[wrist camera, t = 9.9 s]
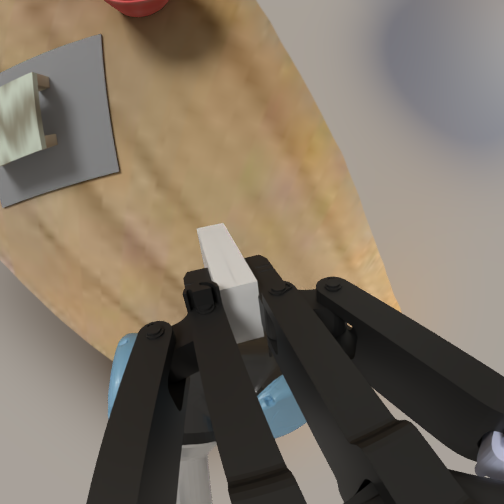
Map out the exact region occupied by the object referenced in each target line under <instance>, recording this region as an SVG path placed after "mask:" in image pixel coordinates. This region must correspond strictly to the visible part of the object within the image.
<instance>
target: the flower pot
mask: <svg viewBox="0 0 504 504" xmlns="http://www.w3.org/2000/svg"><path fill="white" fill-rule="evenodd" d="M104 1H106V2H107V3H108V4H110V5H111V6H112V7H114V8H115V9H117V10H118V11H120V12H121V13H123V14H125V15H127V16H131V17H144V16H148V15H151V14H153V13H155V12H157V11H159V10H160V9H161V8H163V7H164V6H165V5H166V3H167V2H168V1H169V0H104Z"/></svg>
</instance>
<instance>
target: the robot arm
mask: <svg viewBox="0 0 504 504" xmlns="http://www.w3.org/2000/svg"><path fill="white" fill-rule="evenodd" d="M197 233H198V238H199V243H200V248H201V253H202V258H203V262H204V267H205V268H203V269H199V270H195V271H190V272H187V273H186V275H185V277H184V285H185V289H184V291H183V297H184V301H185V304H186V308H187V311H188V314H187V316H186V317H185V318H184V319H183V320H182V321H180V322H179V323H177V324H175V325H173V326H171V325H170V324H169V323H167V322H165V321H156V322H151V323H149V324H147V325H145V326H144V327H143V328H141V329H140V331H139V332H138V333H129V334H127V335H125V336H124V337H122V339H121V340H120V341H119V343H118V346H117V349H116V352H115V356H114V360H113V365H112V370H111V377H110V385H109V394H108V404H109V405H108V419H109V420H108V423H107V427H106V430H105V433H104V437H103V440H102V444H101V448H100V451H99V455H98V459H97V462H96V467H95V470H94V474H93V478H92V482H91V487H90V490H89V495H88V499H87V504H212V496H211V486H210V476H209V466H208V453H209V452H210V451H211V450H212V449H213V448H214V447H215V446H216V445H217V446H218V450H219V453H220V457H221V461H222V464H223V468H224V471H225V475H226V478H227V482H228V492H229V496H230V500H231V503H232V504H307V503H306V501H305V499H304V497H303V495H302V492H301V490H300V488H299V486H298V484H297V482H296V480H295V478H294V476H293V475H292V472H291V471H290V470H289V469H288V468H287V466H286V465H285V462H284V460H283V458H282V455H281V453H280V451H279V449H278V446H277V444H276V442H275V439H274V438H278V437H281V436H284V435H286V434H288V433H290V432H292V431H294V430H296V429H298V428H299V427H301V426H302V425H303V424H305V423H306V422H307V423H308V425H309V427H310V429H311V431H312V433H313V435H314V437H315V439H316V441H317V443H318V445H319V447H320V448H321V451H322V452H323V454H324V456H325V458H326V460H327V462H328V464H329V466H330V468H331V470H332V471H333V473H334V475H335V477H336V480H337V483H338V488H339V492H340V494H341V497H342V499H343V501H344V504H504V377H503V376H502V375H500V374H499V373H497V372H495V371H494V370H493V369H491V368H489V367H488V366H486V365H485V364H483V363H482V362H480V361H478V360H477V359H475V358H474V357H472V356H470V355H469V354H467V353H466V352H464V351H462V350H461V349H459V348H458V347H456V346H454V345H453V344H451V343H450V342H447V341H446V340H445V339H443V338H441V337H440V336H438V335H437V334H435V333H433V332H432V331H430V330H428V329H427V328H425V327H423V326H422V325H420V324H419V323H417V322H415V321H414V320H412V319H410V318H409V317H407V316H405V315H404V314H402V313H400V312H399V311H397V310H395V309H394V308H392V307H390V306H389V305H387V304H385V303H384V302H382V301H380V300H379V299H377V298H375V297H374V296H372V295H370V294H369V293H367V292H365V291H364V290H362V289H360V288H358V287H357V286H355V285H353V284H352V283H350V282H348V281H346V280H345V279H342V278H339V277H327V278H323V279H321V280H320V281H318V282H317V284H316V289H313V290H297V288H296V287H295V286H294V285H293V284H292V283H290V282H287V281H283V280H282V278H281V277H280V276H279V274H278V273H277V272H276V270H275V269H274V268H273V266H272V265H271V264H270V262H269V261H268V259H267V258H265V257H263V256H261V255H256V256H252V257H247V258H243V256H242V254H241V252H240V251H239V249H238V247H237V246H236V244H235V242H234V241H233V239H232V237H231V235H230V234H229V232H228V230H227V229H226V227H225V225H224V223H220V224H216V225H211V226H206V227H202V228H197ZM347 323H349V324H350V325H351V326H352V328H351V327H350V326H348V325H347ZM372 388H373V389H375V390H376V391H377V392H378V393H380V394H381V395H382V396H384V397H385V398H386V399H387V400H388V401H390V402H391V403H392V404H393V405H395V406H396V407H397V408H398V409H400V410H401V411H402V412H403V413H405V414H406V415H407V416H408V417H410V418H411V419H412V420H413V421H415V422H416V423H418V424H419V425H420V426H421V427H422V428H423V429H425V430H426V431H427V432H429V433H430V434H431V435H433V436H434V437H435V438H436V439H438V440H439V441H440V442H441V443H443V444H444V445H445V446H447V447H448V448H450V449H451V450H453V451H454V452H456V453H457V454H459V455H461V456H464V457H465V458H467V459H470V460H473V461H476V462H477V464H476V466H475V473H476V474H477V475H478V476H476V475H471V474H466V473H462V472H458V471H454V470H450V469H447V468H446V466H445V465H444V464H443V462H442V461H441V460H440V458H439V457H438V456H437V454H436V453H435V452H434V450H433V449H432V448H431V446H430V445H429V444H428V442H427V441H426V440H425V438H424V437H423V436H422V435H421V433H420V432H419V431H418V429H417V428H416V427H415V426H414V425H413V424H412V423H411V422H409V421H407V420H397V419H395V418H394V417H393V416H392V414H391V413H390V412H389V410H388V409H387V407H386V406H385V405H384V403H383V402H382V401H381V399H380V398H379V397H378V396H377V394H376V393H375V391H374V390H373V389H372ZM484 476H488V477H490V478H486V477H484Z"/></svg>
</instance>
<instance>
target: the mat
mask: <svg viewBox="0 0 504 504" xmlns="http://www.w3.org/2000/svg"><path fill="white" fill-rule="evenodd" d="M31 72H34V73H37V74H41V75H44V76H47V77H49V85H50V88H47V89H45V90H42V91H38V92H39V101H40V109H41V117H42V123H43V130H44V136H46V135H51V134H56V137H57V142H58V145H55V146H53V147H50V148H47V149H43V150H40V151H37V152H34V153H32V154H29V155H27V156H24V157H21V158H19V159H17V160H14V161H12V162H10V163H8V164H6V165H4V166H1V167H0V200H1V204H2V208H4V207H6V206H9V205H12V204H14V203H17V202H20V201H23V200H25V199H28V198H31V197H34V196H37V195H40V194H43V193H46V192H49V191H52V190H55V189H59V188H62V187H65V186H68V185H72V184H75V183H79V182H82V181H85V180H89V179H93V178H96V177H100V176H104V175H108V174H111V173H115V172H119V166H118V161H117V155H116V150H115V144H114V139H113V133H112V127H111V120H110V114H109V107H108V99H107V91H106V83H105V74H104V64H103V52H102V38H101V34H98V35H95V36H92V37H88V38H85V39H82V40H79V41H76V42H73V43H70V44H67V45H64V46H61V47H58V48H56V49H53V50H50V51H48V52H45V53H43V54H40V55H38V56H36V57H33V58H31V59H29V60H26V61H24V62H22V63H20V64H18V65H16V66H13V67H11V68H9V69H7V70H5V71H3V72H1V73H0V87H1V86H3V85H5V84H7V83H9V82H11V81H13V80H15V79H17V78H19V77H22V76H24V75H26V74H28V73H31Z"/></svg>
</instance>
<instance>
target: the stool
mask: <svg viewBox="0 0 504 504" xmlns="http://www.w3.org/2000/svg"><path fill="white" fill-rule="evenodd" d="M47 88H50V85H49V77H47V76H44V75H41V74H37V73H34V72H31V73H28V74H26V75H24V76H22V77H19V78H17V79H15V80H13V81H11V82H9V83H7V84H5V85H3V86H1V87H0V167H1V166H4V165H6V164H8V163H10V162H12V161H14V160H17V159H19V158H21V157H24V156H27V155H29V154H32V153H34V152H37V151H40V150H43V149H47V148H50V147H53V146H55V145H58V142H57V137H56V134H51V135H46V136H44V130H43V123H42V117H41V109H40V101H39V92H38V91H42V90H45V89H47Z"/></svg>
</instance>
